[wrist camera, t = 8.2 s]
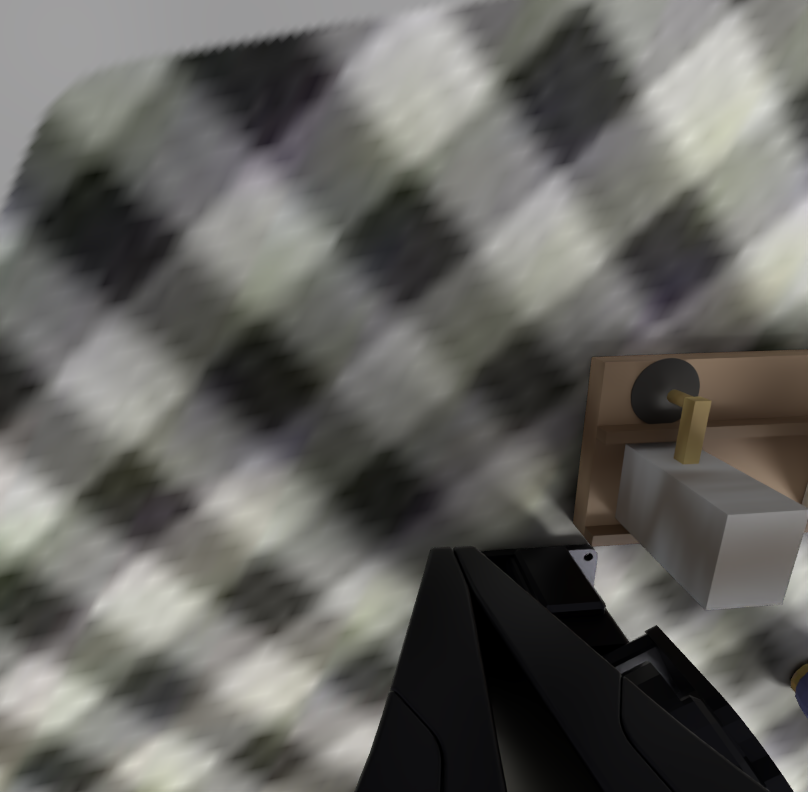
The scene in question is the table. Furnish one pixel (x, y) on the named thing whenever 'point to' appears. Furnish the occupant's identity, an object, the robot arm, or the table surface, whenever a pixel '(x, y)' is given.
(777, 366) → the wooden peg rack
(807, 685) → the rubber mallet
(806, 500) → the slider
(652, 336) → the table surface
